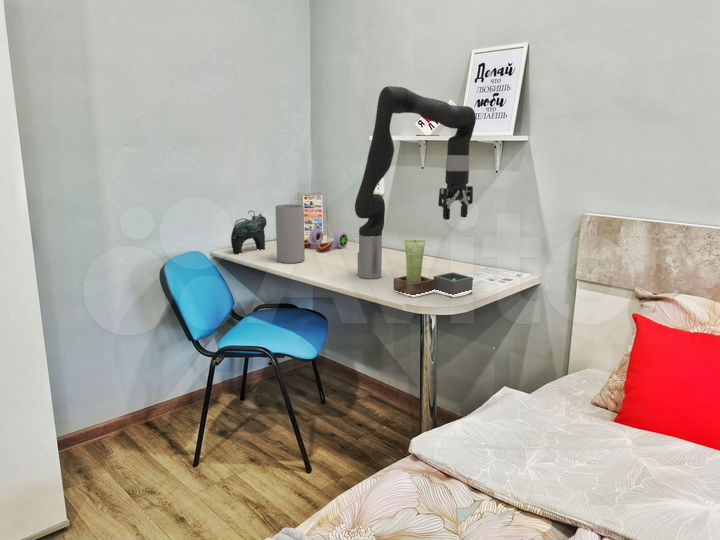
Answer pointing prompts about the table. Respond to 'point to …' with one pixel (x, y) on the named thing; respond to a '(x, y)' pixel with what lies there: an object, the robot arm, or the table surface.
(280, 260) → the cylinder vase
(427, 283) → the brown wooden square frame
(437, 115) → the robot arm
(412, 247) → the tube
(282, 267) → the table surface
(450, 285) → the socket block
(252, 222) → the ceramic cat
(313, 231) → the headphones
